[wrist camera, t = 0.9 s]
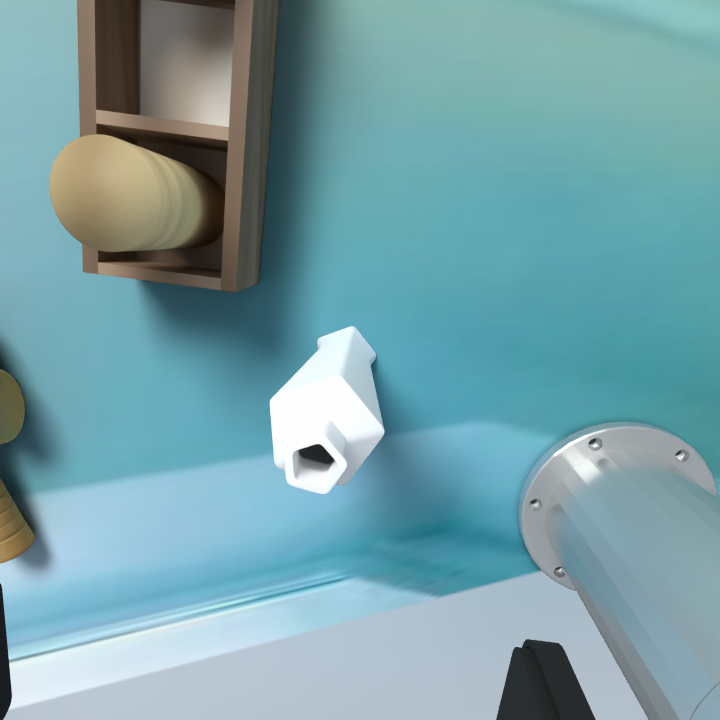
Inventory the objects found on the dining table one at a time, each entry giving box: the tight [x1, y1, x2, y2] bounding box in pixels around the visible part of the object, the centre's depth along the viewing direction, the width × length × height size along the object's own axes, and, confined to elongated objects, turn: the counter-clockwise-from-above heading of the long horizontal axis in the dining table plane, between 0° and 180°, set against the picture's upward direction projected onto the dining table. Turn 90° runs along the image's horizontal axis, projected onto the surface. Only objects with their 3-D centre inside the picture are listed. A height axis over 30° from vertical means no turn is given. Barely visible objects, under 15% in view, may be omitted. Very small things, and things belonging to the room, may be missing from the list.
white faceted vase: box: [270, 327, 384, 494], centre depth 23 cm, size 5×4×15 cm
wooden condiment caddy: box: [49, 0, 280, 292], centre depth 22 cm, size 8×22×10 cm, turn 173°
